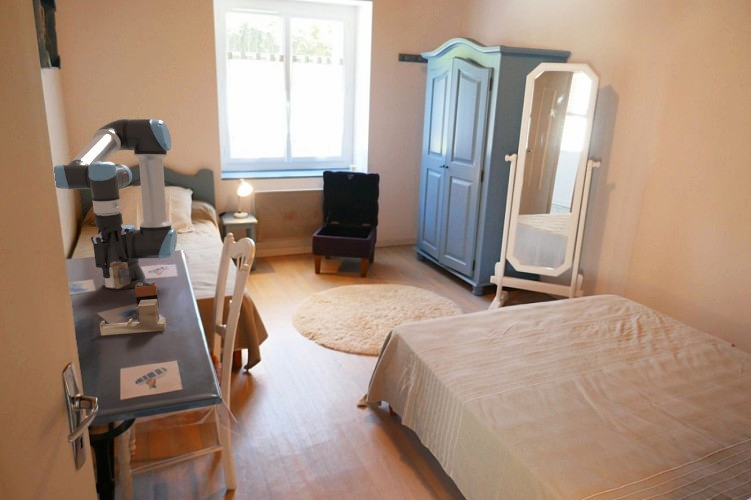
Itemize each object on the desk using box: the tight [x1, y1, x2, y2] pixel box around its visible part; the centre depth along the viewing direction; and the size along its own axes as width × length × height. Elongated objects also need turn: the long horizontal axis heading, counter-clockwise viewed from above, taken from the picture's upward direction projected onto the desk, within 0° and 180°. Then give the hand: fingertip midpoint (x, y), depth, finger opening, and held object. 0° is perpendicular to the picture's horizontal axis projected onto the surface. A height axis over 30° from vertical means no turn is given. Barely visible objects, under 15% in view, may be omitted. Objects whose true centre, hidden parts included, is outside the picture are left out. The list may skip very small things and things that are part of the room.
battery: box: [134, 280, 160, 308], centre depth 184 cm, size 4×7×10 cm, turn 110°
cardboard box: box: [103, 262, 130, 290], centre depth 165 cm, size 5×6×7 cm
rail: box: [99, 299, 167, 336], centre depth 167 cm, size 5×19×10 cm, turn 104°
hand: (117, 284), depth 166 cm, fingers closed on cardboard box, 5 cm apart
